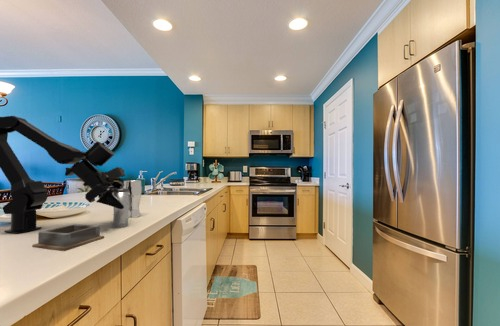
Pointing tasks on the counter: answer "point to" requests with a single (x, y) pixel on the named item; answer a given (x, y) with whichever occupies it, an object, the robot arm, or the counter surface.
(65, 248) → the socket
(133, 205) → the beer glass
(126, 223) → the brushed metal canister
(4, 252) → the counter surface
